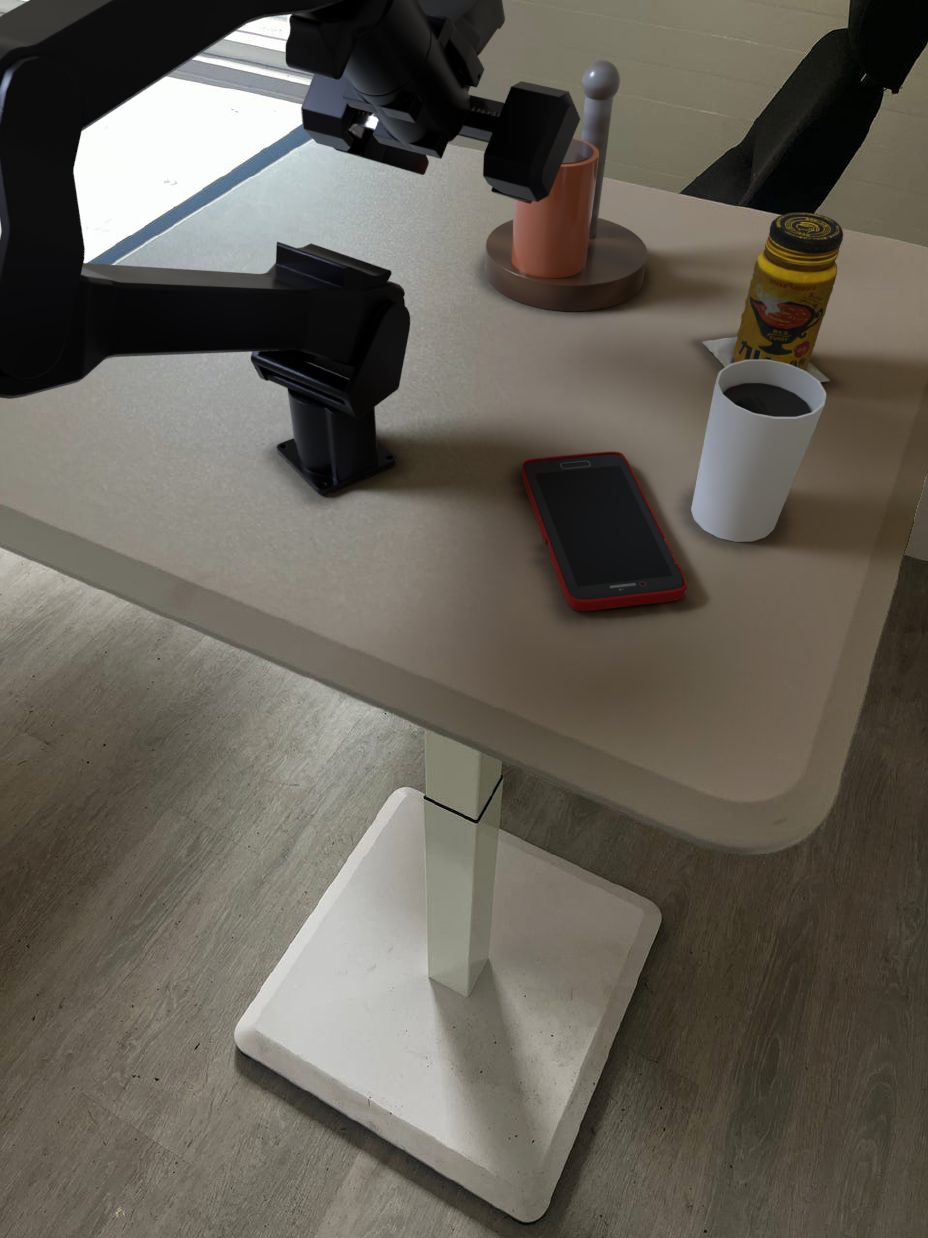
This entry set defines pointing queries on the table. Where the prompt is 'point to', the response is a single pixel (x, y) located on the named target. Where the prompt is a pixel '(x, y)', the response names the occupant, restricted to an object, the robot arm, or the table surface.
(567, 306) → the towel holder
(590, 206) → the cup
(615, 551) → the cell phone
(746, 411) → the white coffee cup
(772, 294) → the condiment
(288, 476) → the table surface
